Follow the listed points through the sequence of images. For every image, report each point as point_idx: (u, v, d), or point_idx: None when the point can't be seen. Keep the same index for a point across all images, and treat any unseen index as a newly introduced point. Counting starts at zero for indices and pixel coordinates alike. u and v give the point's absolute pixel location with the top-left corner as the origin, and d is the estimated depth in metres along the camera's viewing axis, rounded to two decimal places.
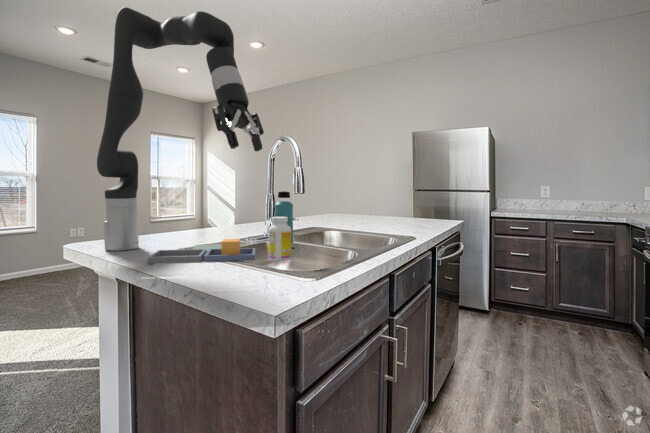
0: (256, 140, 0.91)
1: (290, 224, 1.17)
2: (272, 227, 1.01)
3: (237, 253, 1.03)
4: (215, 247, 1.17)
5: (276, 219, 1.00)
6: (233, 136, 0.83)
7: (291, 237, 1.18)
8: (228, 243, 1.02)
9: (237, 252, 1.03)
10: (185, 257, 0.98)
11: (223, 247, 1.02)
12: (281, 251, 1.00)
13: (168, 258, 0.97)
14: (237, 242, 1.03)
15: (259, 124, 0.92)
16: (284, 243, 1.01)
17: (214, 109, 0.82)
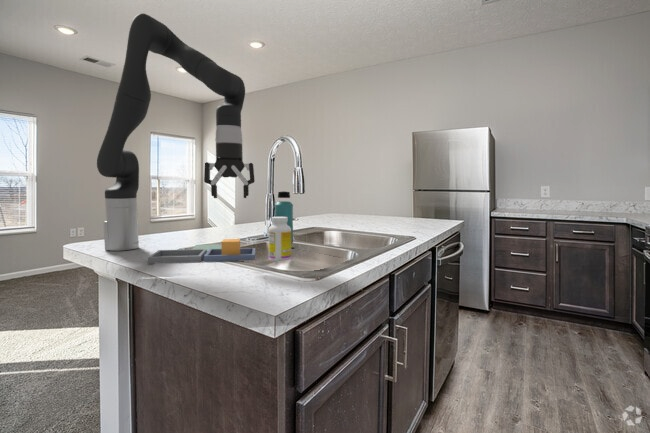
0: None
1: (290, 224, 1.17)
2: (272, 227, 1.01)
3: (237, 253, 1.03)
4: (215, 247, 1.17)
5: (276, 219, 1.00)
6: (213, 189, 1.02)
7: (291, 237, 1.18)
8: (228, 243, 1.02)
9: (237, 252, 1.03)
10: (185, 257, 0.98)
11: (223, 247, 1.02)
12: (281, 251, 1.00)
13: (168, 258, 0.97)
14: (237, 242, 1.03)
15: (251, 174, 1.03)
16: (284, 243, 1.01)
17: None
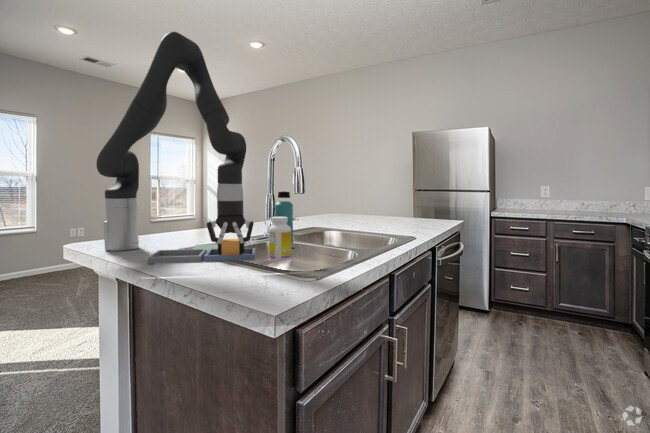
0: (239, 247, 1.05)
1: (290, 224, 1.17)
2: (272, 227, 1.01)
3: (237, 253, 1.03)
4: (215, 247, 1.17)
5: (276, 219, 1.00)
6: (220, 248, 1.04)
7: (291, 237, 1.18)
8: (228, 243, 1.02)
9: (237, 252, 1.03)
10: (185, 257, 0.98)
11: (223, 247, 1.02)
12: (281, 251, 1.00)
13: (168, 258, 0.97)
14: (237, 242, 1.03)
15: (248, 232, 1.04)
16: (284, 243, 1.01)
17: None
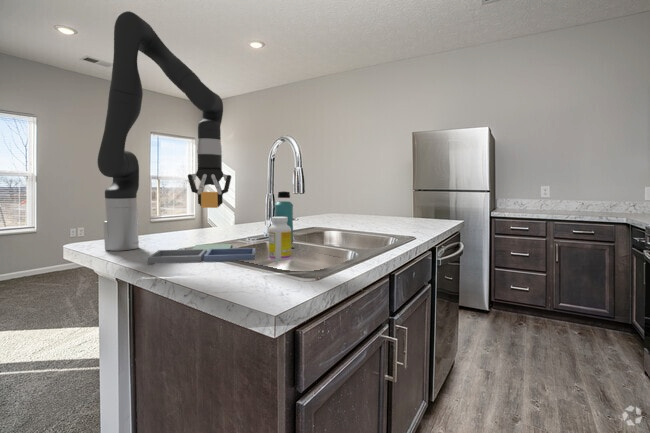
0: None
1: (290, 224, 1.17)
2: (272, 227, 1.01)
3: (215, 203, 1.13)
4: (215, 247, 1.17)
5: (276, 219, 1.00)
6: (199, 198, 1.13)
7: (291, 237, 1.18)
8: (207, 193, 1.12)
9: (215, 202, 1.13)
10: (185, 257, 0.98)
11: (202, 197, 1.12)
12: (281, 251, 1.00)
13: (168, 258, 0.97)
14: (215, 193, 1.13)
15: (226, 184, 1.14)
16: (284, 243, 1.01)
17: None
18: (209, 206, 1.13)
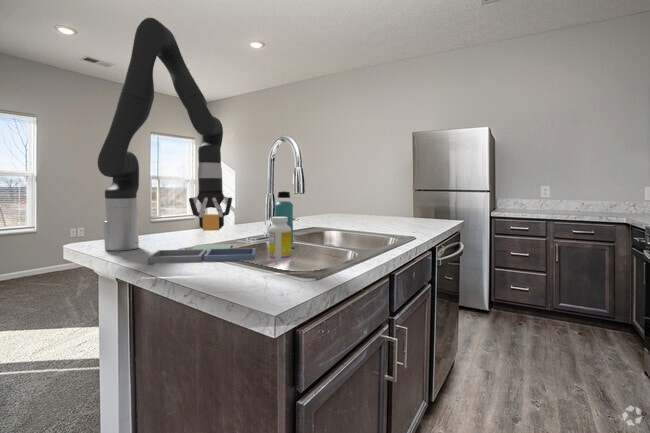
0: (219, 220, 1.16)
1: (290, 224, 1.17)
2: (272, 227, 1.01)
3: (217, 226, 1.14)
4: (215, 247, 1.17)
5: (276, 219, 1.00)
6: (201, 221, 1.14)
7: (291, 237, 1.18)
8: (208, 216, 1.13)
9: (217, 225, 1.14)
10: (185, 257, 0.98)
11: (204, 220, 1.13)
12: (281, 251, 1.00)
13: (168, 258, 0.97)
14: (217, 216, 1.14)
15: (227, 207, 1.15)
16: (284, 243, 1.01)
17: None
18: (211, 229, 1.14)
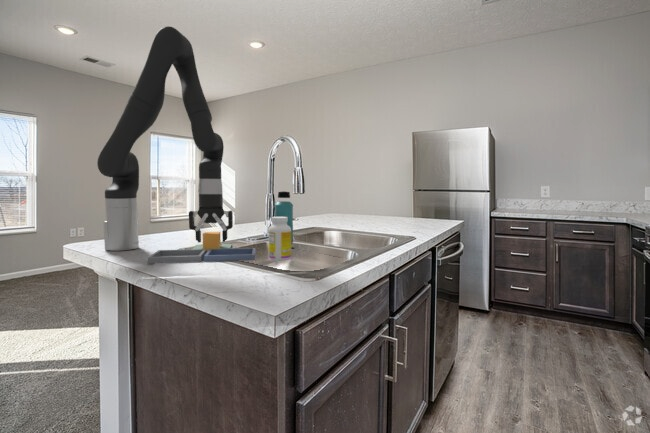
0: None
1: (290, 224, 1.17)
2: (272, 227, 1.01)
3: (217, 244, 1.14)
4: None
5: (276, 219, 1.00)
6: (197, 235, 1.15)
7: (291, 237, 1.18)
8: (208, 235, 1.14)
9: (217, 243, 1.14)
10: (185, 257, 0.98)
11: (204, 239, 1.14)
12: (281, 251, 1.00)
13: (168, 258, 0.97)
14: (217, 234, 1.14)
15: (229, 221, 1.16)
16: (284, 243, 1.01)
17: None
18: (211, 247, 1.14)
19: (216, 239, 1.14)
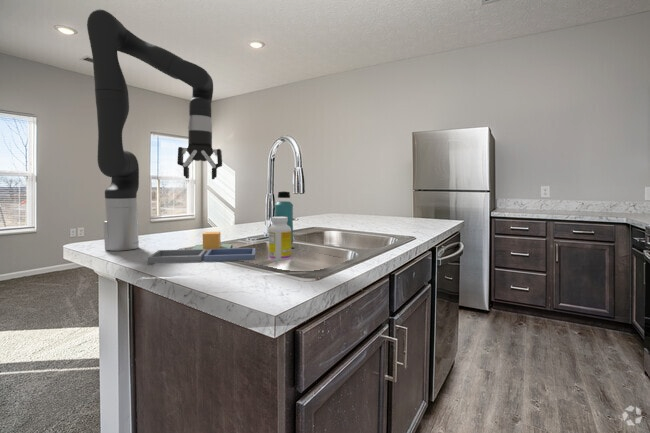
0: (212, 171, 1.19)
1: (290, 224, 1.17)
2: (272, 227, 1.01)
3: (217, 244, 1.14)
4: None
5: (276, 219, 1.00)
6: (185, 171, 1.17)
7: (291, 237, 1.18)
8: (208, 235, 1.14)
9: (217, 243, 1.14)
10: (185, 257, 0.98)
11: (204, 239, 1.14)
12: (281, 251, 1.00)
13: (168, 258, 0.97)
14: (217, 234, 1.14)
15: (218, 158, 1.18)
16: (284, 243, 1.01)
17: None
18: (211, 247, 1.14)
19: (216, 239, 1.14)
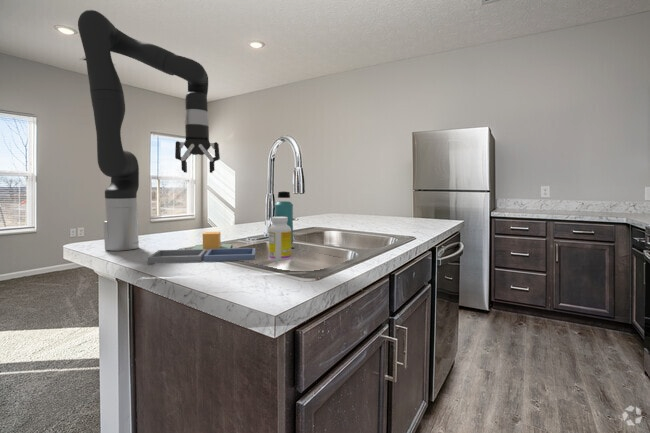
0: None
1: (290, 224, 1.17)
2: (272, 227, 1.01)
3: (217, 244, 1.14)
4: None
5: (276, 219, 1.00)
6: (183, 165, 1.18)
7: (291, 237, 1.18)
8: (208, 235, 1.14)
9: (217, 243, 1.14)
10: (185, 257, 0.98)
11: (204, 239, 1.14)
12: (281, 251, 1.00)
13: (168, 258, 0.97)
14: (217, 234, 1.14)
15: (216, 152, 1.19)
16: (284, 243, 1.01)
17: None
18: (211, 247, 1.14)
19: (216, 239, 1.14)
